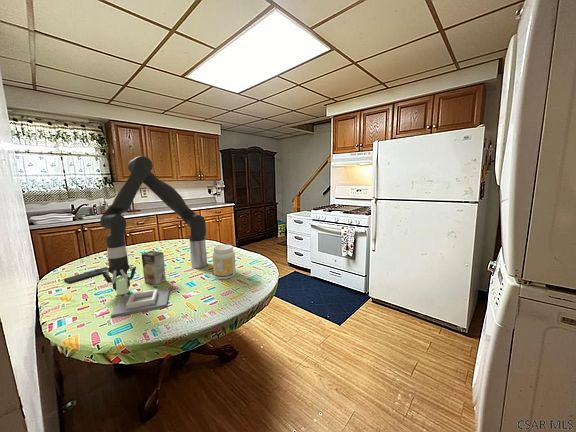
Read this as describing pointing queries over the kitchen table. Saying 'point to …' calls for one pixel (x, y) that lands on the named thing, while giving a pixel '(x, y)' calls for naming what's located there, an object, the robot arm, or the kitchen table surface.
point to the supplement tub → (224, 262)
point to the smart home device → (85, 275)
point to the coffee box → (153, 267)
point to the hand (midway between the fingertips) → (121, 288)
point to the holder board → (141, 302)
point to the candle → (121, 285)
